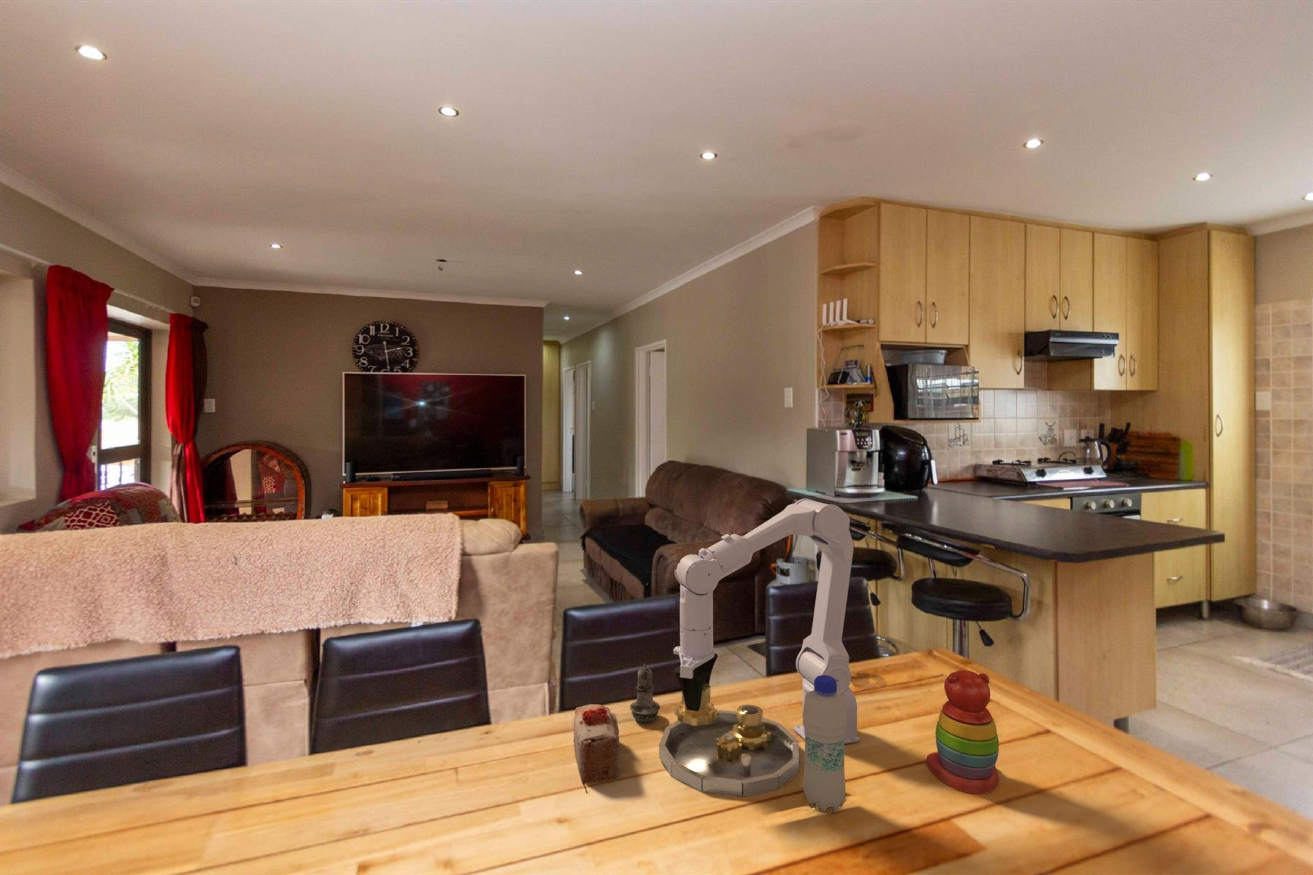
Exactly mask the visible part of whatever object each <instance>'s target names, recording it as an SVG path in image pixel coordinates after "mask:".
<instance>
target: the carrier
mask: <svg viewBox="0 0 1313 875" xmlns="http://www.w3.org/2000/svg"><path fill="white" fill-rule="evenodd" d="M763 712H764V710H763V708H761V707H759V706H758V705H755V704H742V705H739V706H738V707H737V709H736V711H733V710H732V711H731V710H723V709H722V710H721V709H717V718H715V719H714V720H713V721H712V723H711V724H704V725H697V726H692V725H691V724H687V723H684V722H680V721H678V720H677V721H675V722H673V723H671V724H669V725H667V726H666V727H665V729H664V731H663V734H662V736H661V739H660V741H659V743H658V758H659V759H660V762H661V764H662V766H663V768H664V770H666V772H667V773H668V774H669V776H671V778H673V779H675V780H677V781H678V782H680V784H681V783H682V785H684V786H688V787H689V788H692V789H694V790H697V791H699V792H702V793H707V794H712V795H716V796H717V795H719V796H726V797H727V796H728V797H729V796H730V797H747V796H756V795H762V794H766V793H769V792H772V791H776V790H778V789H781V788H782V787H783V786H785V785H787V784H788V783H789V782H792V780H793V779H794V778H795V776H796V775H797V774H798V773H799V772H800V766H801V764H800V763H801V760H800V759H801V758H800V750H799V747H800V746H799V745H800V744H799V740H798V738H797V737H795V736H794V735H793V734H792V733H791V732H790V731H789V730H788V729H787V728H785V727H784V726H783V725H782V724H781V723H779V722H777V721H775V720H771V719H769V718H766V717H764V714H763Z"/></svg>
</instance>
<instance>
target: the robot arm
mask: <svg viewBox="0 0 1313 875" xmlns="http://www.w3.org/2000/svg"><path fill="white" fill-rule="evenodd" d="M850 522H851V518H850V517H849V516H848V515H847V514H846V513H845V511H844V510H843V509H842V508H841V507H840V506H837V505H836V504H828V503H823V502H820V501H816V500H814V499H810V498H801V499H799V500H797V501H796V502H795V503H791V504H788V505H787V506H786V507H785V508H784V509H783V510H782V511H781V512H779V513H778V514H776V515H774V516H772V517H771V518H770V519H768V520H767V521H764V522H763V523H762V524H760V525H758V526H757V527H756V528H754V529H752V530H750V531H749V532H748V533H746V534H744V535H739V534H735V533H732V534H731V535H730V534H728V533H726V534H724V535H722V536H721V540H720V541H718V542H716V543H714V544H713V545H712V544H711V546H709V547H707V548H703V547H702V548H700V549H699V550H698V555H697V554H687V555H685V556H684V557H682V558H681V559H680V561H679V563H678V564H677V566H676V569H674V570H673V571H674V576H675V579H676V581H677V582H678V583H679V584H680V586H679V589H680V590H679V591H680V592H679V595H680V596H679V598H680V599H679V646H675V647H674V648H673V654H674V655H678V656H679V660H680V666H676V667H675V668H674V677H675V679H676V680H677V682H678V684H679V686H680V689H681V693H682V692H683V696H684V701H685V705H686V709H687V710H691V711H699V708H700V705H701V698H702V691H703V686H704V683H705V682H707V683H708V684H709V685H710V681H711V676H712V672H713V669H714V666H715V664H716V661H717V659H718V657H719V656H718V653H716V652H715V649H714V599H713V598H714V594H713V593H714V590H715V589H716V588H717V586H718V584H719V581H720V580H722V579H723V578H725V577H727V576H730V575H731V574H732V573H734V572H735V571H738V570H740V569H742V568H743V567H744V566H745V567H746V565H748V564H750V563H751V561H752V558H753V554H754V553H756V552H758V551H761V549H764V548H767V547H768V546H770V545H772V544H774V543H776V542H778V541H780V540H783V538H787V537H789V536H790V535H794V536H806V537H809V538H810V539H811V541H813V542H814V544H815V545H816V547H817V548H818V549H819V550H820V551H821V558H820V565H819V573H818V581H817V582H818V583H817V588H816V589H817V590H816V595H815V596H816V597H815V604H814V612H813V620H812V626H811V633H810V635H808V636H807V637H805V638H804V639H803V640H802V645H801V646H802V647H801V650H800V651H799V653H798V654H797V657H796V660H795V668H796V671H797V673H798V674H799V676H801V677H802V679H801V680H802V710H803V709H804V702H805V696H806V694H807V693H808V692H810V691H813V690H814V681H815V678H816V677H817V676H820V675H828V676H831V677H833V678H834V679H835V680H836V683H837V693H838V694H840V695H841V696H842V697H843V698H844V700H845V707H846V715H847V725H846V726H847V730H846V732H845V734H844V735H845V741H844V745H847V744H852V743H857V742H860V737H859V736H858V702H857V698H856V695H855V693H854V692H853V690H852V688H850V685H851V683H852V681H851V680H852V674H851V671H850V666H849V664H850V655H849V654H848V651H847V650H846V648H845V646H844V644H843V641H842V640H843V639H842V638H843V632H844V624H845V616H846V610H847V609H846V608H847V602H848V593H849V586H850V578H851V570H852V564H853V563H852V562H853V555H854V542H853V539H852V538H853V537H852V535H851V532H850ZM793 730H794V731H795V733H797V734H798V735H799V736H800V737H801V738H802V739H803V740H805V728H804V726H803V724H801V725H796V726H795V725H794V726H793Z"/></svg>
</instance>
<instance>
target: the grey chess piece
mask: <svg viewBox="0 0 1313 875" xmlns="http://www.w3.org/2000/svg"><path fill="white" fill-rule="evenodd" d="M654 688H655V686H654V685H653V671H652V669H650V668H648V667H647V664H645V663H643V665H642V667H641V668H639V669H638V671H637V685H635V690H636V691H637V695H636V696H637V697H636V701H633V702H632V703H631V704H630V705H629V709H630V711H631V715H632V716H633V718H634V720H636V721H637V722H639V723H650V722H653V721H654V720H656V718H657V717H658V714H659V710H660V709H661V705H660V703H658V702H657V701H655V700H654V698H653V690H654Z"/></svg>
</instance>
